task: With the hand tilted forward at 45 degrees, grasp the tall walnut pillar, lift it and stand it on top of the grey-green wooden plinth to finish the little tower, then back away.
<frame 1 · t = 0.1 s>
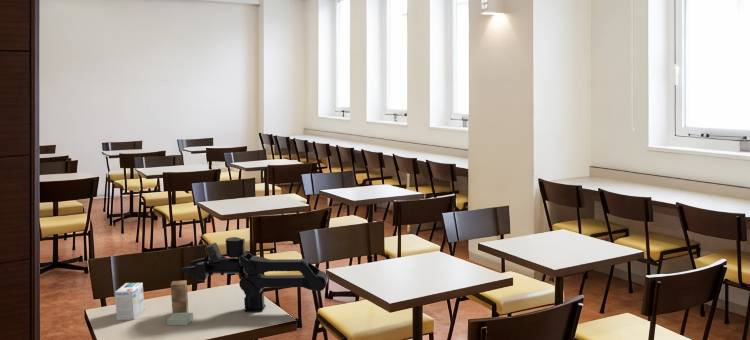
hand: (185, 266, 256), 17 cm above the table, tool horizontal, fingers open, 9 cm apart
light bulb box: (131, 315, 254), on the table
pillar: (180, 314, 253), on the table
plinth: (180, 321, 245), on the table
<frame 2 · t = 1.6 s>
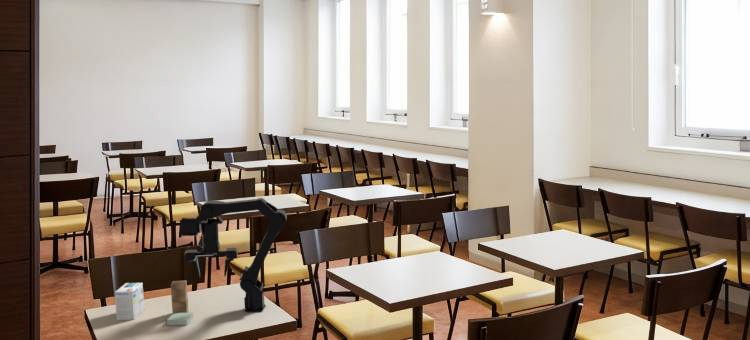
hand: (212, 276, 254), 13 cm above the table, tool pointing down, fingers open, 9 cm apart
nothing on the table moved.
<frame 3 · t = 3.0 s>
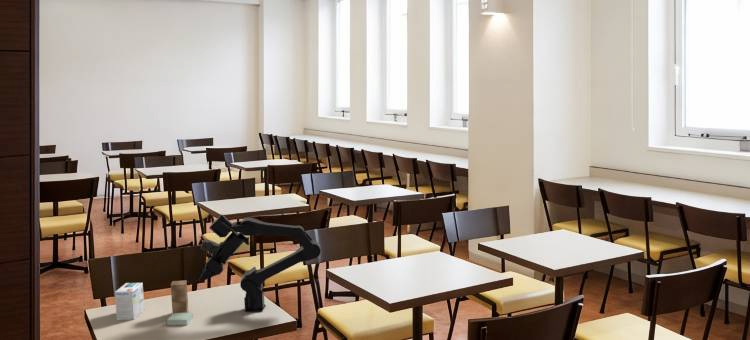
hand: (201, 277, 252), 13 cm above the table, tool tilted 45°, fingers open, 9 cm apart
nothing on the table moved.
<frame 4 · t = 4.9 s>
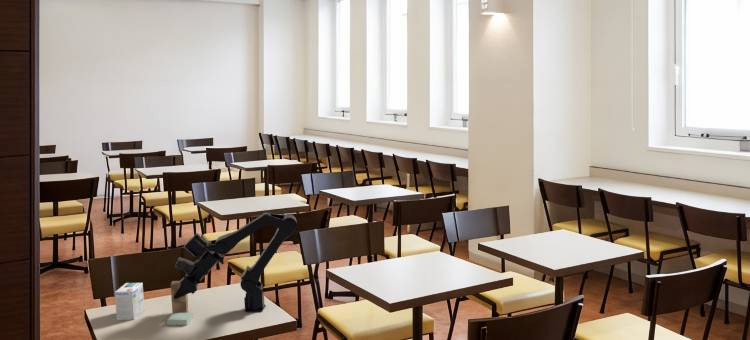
hand: (175, 295, 252), 7 cm above the table, tool tilted 45°, fingers closed on pillar, 5 cm apart
pillar: (180, 314, 253), on the table, touching gripper
everything else where it was.
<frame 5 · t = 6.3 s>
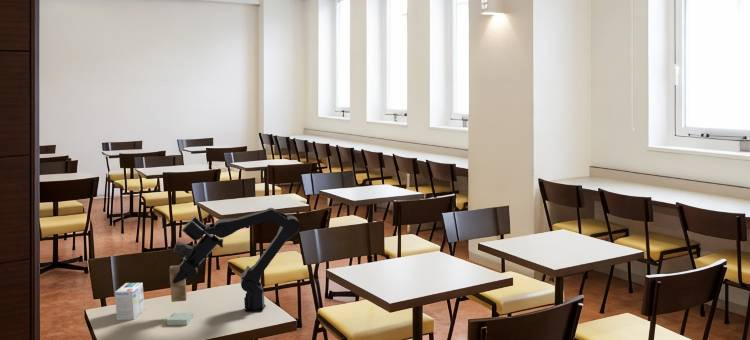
hand: (173, 280, 249), 13 cm above the table, tool tilted 45°, fingers closed on pillar, 5 cm apart
pillar: (179, 299, 250), point 6 cm above the table, touching gripper
everything else where it was.
when the fingers open (10 cm above the table, at t = 7.7 s): pillar stays where it is, resting on plinth.
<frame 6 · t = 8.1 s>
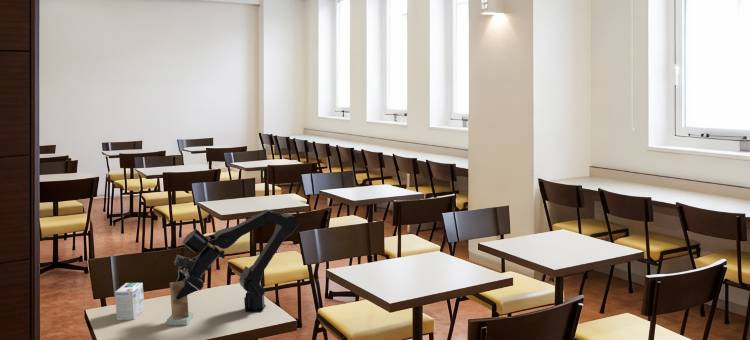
hand: (174, 294, 243), 10 cm above the table, tool tilted 45°, fingers open, 9 cm apart
pillar: (180, 316, 245), point 2 cm above the table, touching plinth
everything else where it was.
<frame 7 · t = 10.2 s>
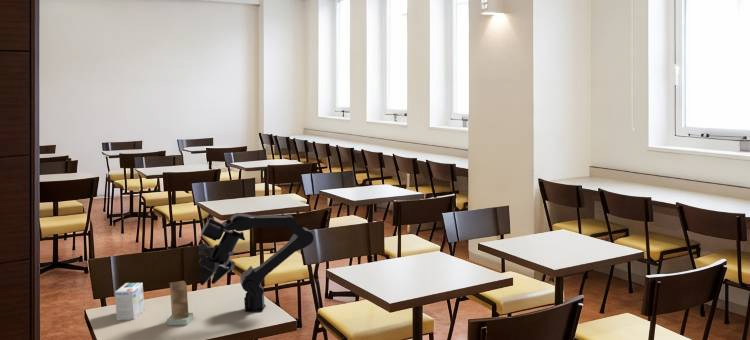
hand: (207, 284, 250), 11 cm above the table, tool tilted 30°, fingers open, 9 cm apart
nothing on the table moved.
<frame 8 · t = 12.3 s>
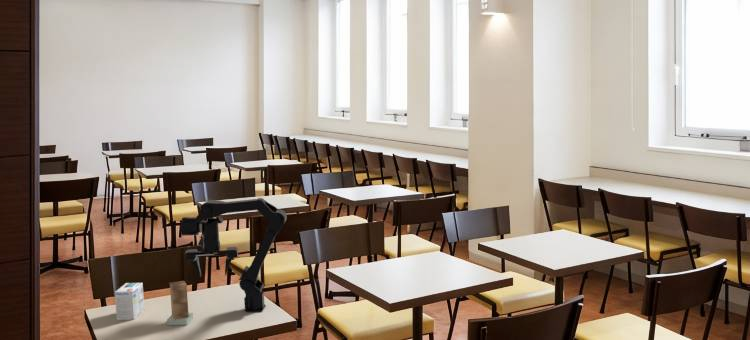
hand: (213, 276, 255), 13 cm above the table, tool pointing down, fingers open, 9 cm apart
nothing on the table moved.
at the end: pillar 0.0 cm off-centre on the plinth, point 2.0 cm above the plinth's base; pillar tilted 0°; the gripper is holding nothing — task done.
